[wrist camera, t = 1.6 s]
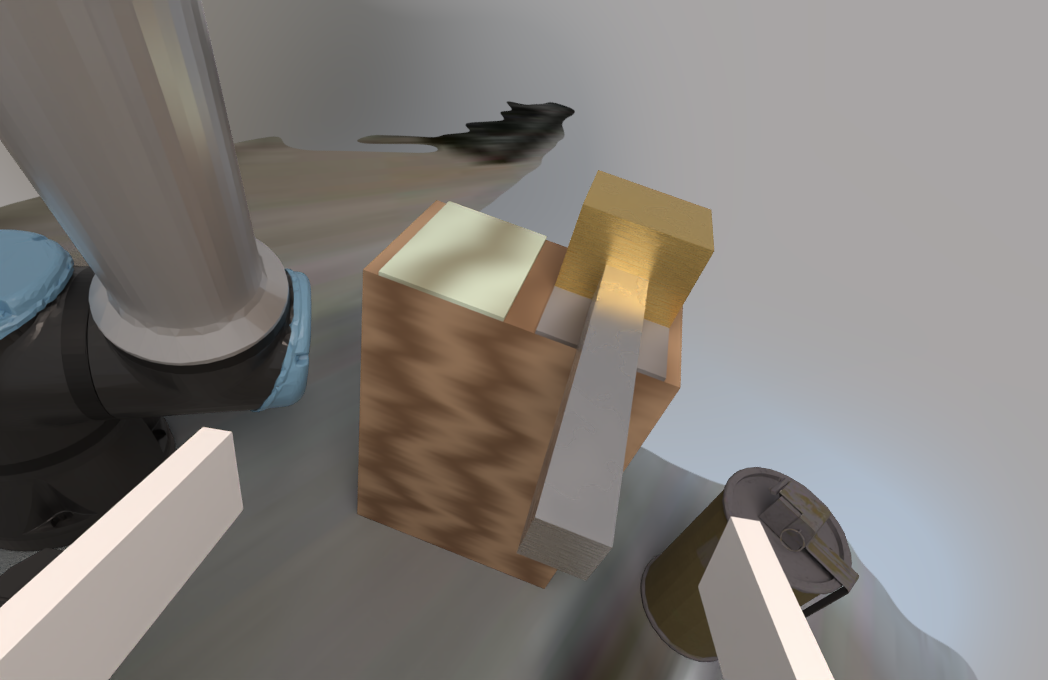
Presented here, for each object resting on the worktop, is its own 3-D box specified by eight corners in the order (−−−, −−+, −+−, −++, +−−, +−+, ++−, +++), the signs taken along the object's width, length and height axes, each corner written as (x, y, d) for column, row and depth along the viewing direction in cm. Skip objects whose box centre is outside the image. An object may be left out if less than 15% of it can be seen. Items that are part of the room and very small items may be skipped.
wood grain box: (357, 513, 49) (363, 265, 29) (407, 430, 57) (439, 194, 38) (544, 588, 48) (682, 384, 28) (567, 492, 56) (685, 283, 37)
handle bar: (452, 527, 18) (480, 433, 15) (571, 245, 37) (598, 170, 33) (651, 606, 18) (735, 532, 14) (672, 281, 36) (711, 209, 32)
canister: (620, 587, 50) (717, 484, 37) (679, 535, 56) (780, 431, 43) (703, 692, 44) (850, 615, 31) (758, 623, 50) (901, 533, 37)
